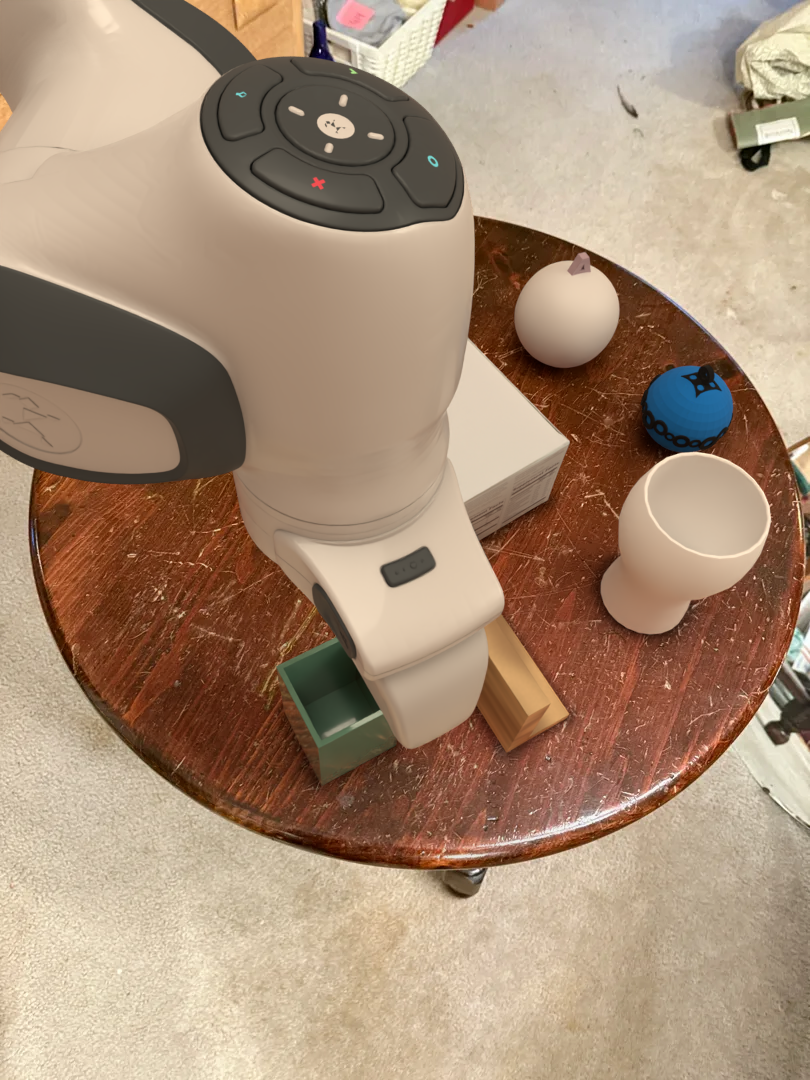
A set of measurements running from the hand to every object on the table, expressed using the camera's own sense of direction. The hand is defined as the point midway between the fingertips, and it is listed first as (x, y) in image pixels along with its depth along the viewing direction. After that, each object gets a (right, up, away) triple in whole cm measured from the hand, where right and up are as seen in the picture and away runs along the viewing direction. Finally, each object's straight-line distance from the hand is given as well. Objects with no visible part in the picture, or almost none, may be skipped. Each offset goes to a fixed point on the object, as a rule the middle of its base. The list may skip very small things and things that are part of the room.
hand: (341, 614), depth 47 cm
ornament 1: (+20, +25, +41) cm, 52 cm away
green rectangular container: (+2, -9, +19) cm, 21 cm away
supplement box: (+7, +11, +32) cm, 35 cm away
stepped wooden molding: (+10, -5, +22) cm, 25 cm away
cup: (+25, -1, +26) cm, 36 cm away
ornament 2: (+31, +15, +36) cm, 50 cm away
